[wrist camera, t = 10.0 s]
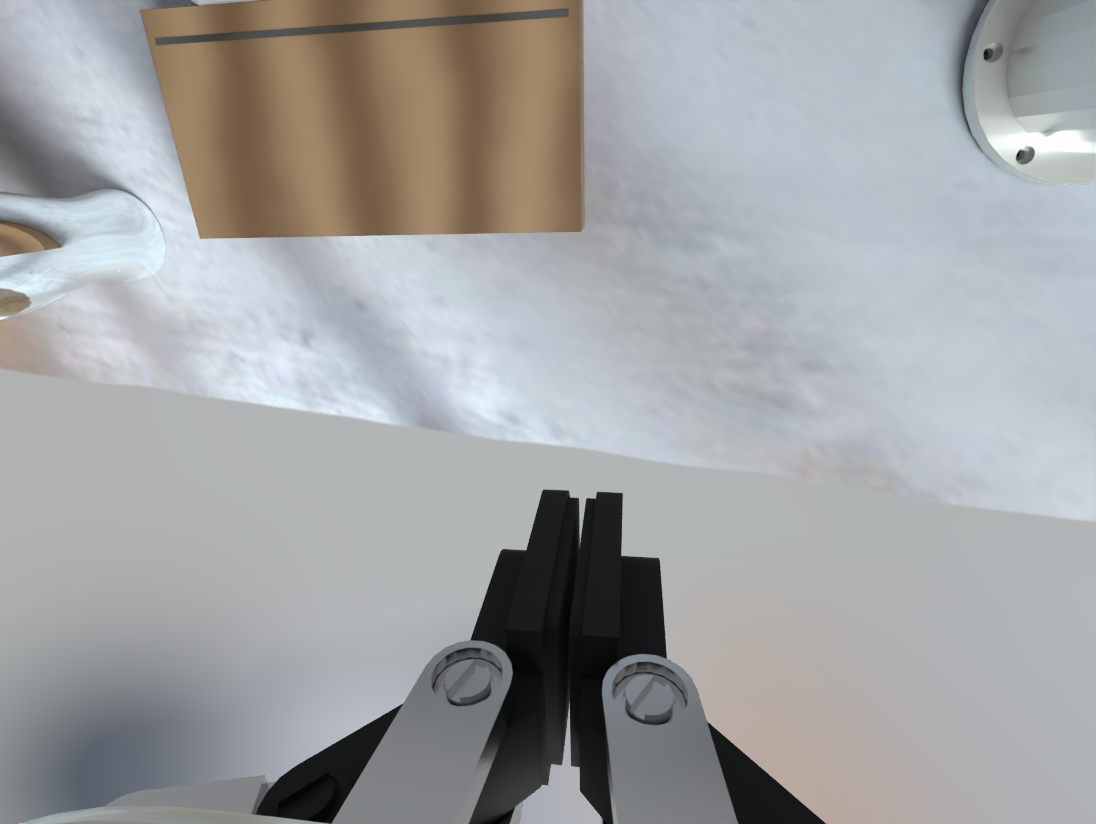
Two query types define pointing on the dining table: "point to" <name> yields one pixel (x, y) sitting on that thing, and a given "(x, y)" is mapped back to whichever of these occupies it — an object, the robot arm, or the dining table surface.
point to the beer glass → (72, 246)
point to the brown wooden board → (376, 115)
